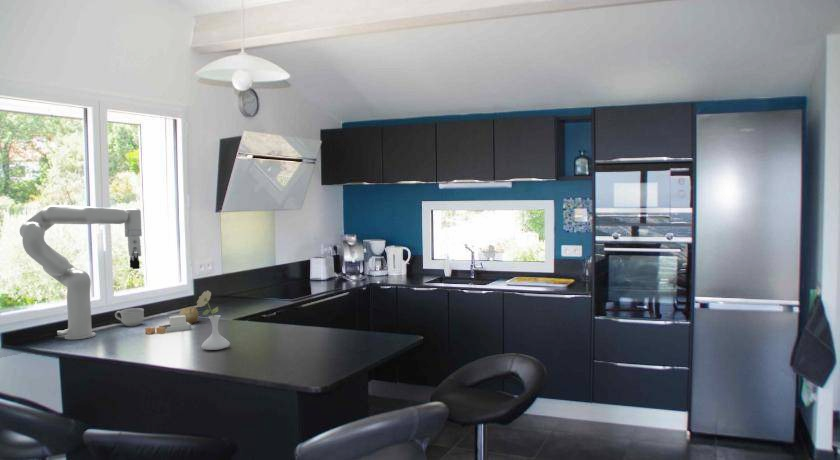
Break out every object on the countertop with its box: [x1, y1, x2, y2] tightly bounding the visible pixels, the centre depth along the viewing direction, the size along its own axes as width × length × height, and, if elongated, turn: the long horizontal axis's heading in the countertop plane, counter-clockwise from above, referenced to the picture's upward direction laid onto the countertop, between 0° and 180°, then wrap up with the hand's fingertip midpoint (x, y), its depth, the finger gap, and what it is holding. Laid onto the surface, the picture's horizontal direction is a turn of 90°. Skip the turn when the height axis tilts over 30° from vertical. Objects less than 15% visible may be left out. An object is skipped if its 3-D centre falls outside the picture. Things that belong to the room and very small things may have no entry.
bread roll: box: [178, 306, 200, 325], centre depth 324 cm, size 10×15×8 cm, turn 25°
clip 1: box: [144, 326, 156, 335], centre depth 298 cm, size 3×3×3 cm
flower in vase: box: [196, 290, 230, 351], centre depth 260 cm, size 13×11×25 cm
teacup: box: [114, 307, 145, 327], centre depth 320 cm, size 14×11×8 cm
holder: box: [165, 322, 192, 333], centre depth 305 cm, size 11×8×2 cm
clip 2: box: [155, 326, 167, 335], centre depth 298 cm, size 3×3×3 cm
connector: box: [158, 315, 186, 329], centre depth 304 cm, size 12×4×6 cm, turn 120°
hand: (134, 268), depth 308 cm, fingers open, 9 cm apart
